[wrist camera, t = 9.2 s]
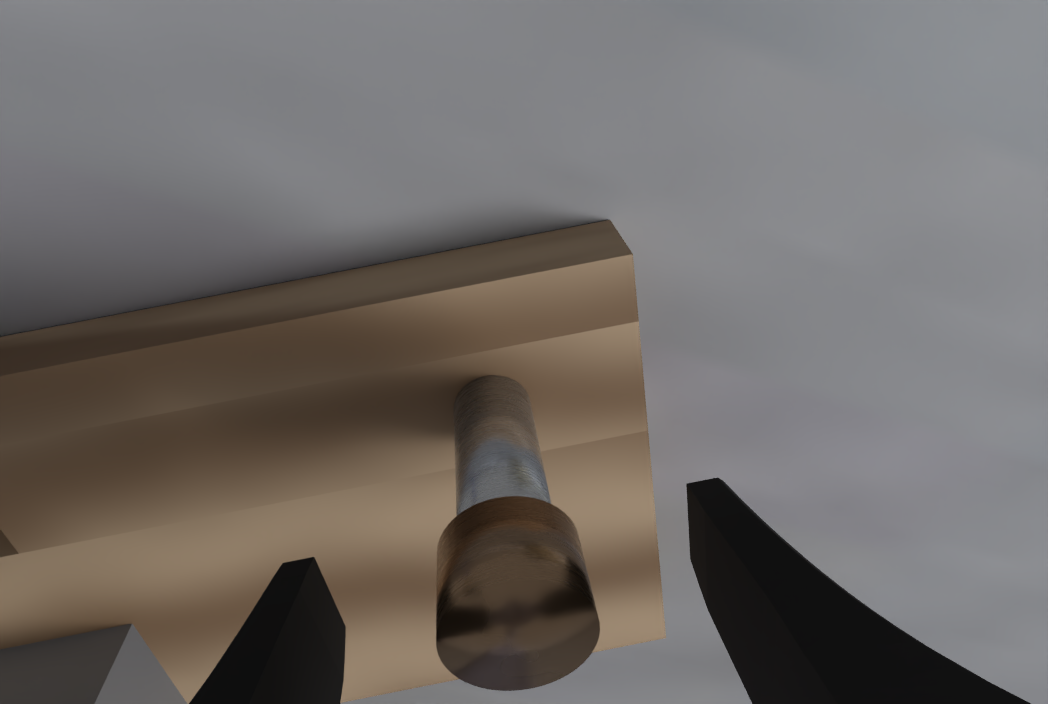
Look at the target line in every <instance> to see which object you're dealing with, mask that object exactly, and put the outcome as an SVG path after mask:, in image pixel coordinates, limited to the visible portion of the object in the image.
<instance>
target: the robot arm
mask: <svg viewBox="0 0 1048 704" xmlns="http://www.w3.org/2000/svg"><path fill="white" fill-rule="evenodd" d="M687 502H688V521H689V541H690V559H691V562H692V565H693V568H694V571H695V574H696V577H697V580H698V583H699V586H700V589H701V592H702V594H703V597H704V600H705V603H706V606H707V608H708V611H709V613H710V615H711V617H712V619H713V622H714V624H715V626H716V628H717V630H718V632H719V634H720V636H721V639H722V641H723V643H724V645H725V647H726V649H727V651H728V653H729V655H730V657H731V660H732V662H733V664H734V666H735V668H736V670H737V672H738V674H739V676H740V678H741V681H742V683H743V685H744V687H745V689H746V691H747V693H748V695H749V697H750V699H751V702H752V704H1030V703H1029V702H1027V701H1025V700H1023V699H1021V698H1019V697H1017V696H1015V695H1013V694H1011V693H1009V692H1007V691H1005V690H1003V689H1001V688H999V687H998V686H996V685H994V684H992V683H990V682H988V681H986V680H984V679H983V678H981V677H979V676H978V675H976V674H974V673H972V672H971V671H969V670H967V669H965V668H964V667H962V666H960V665H958V664H957V663H955V662H953V661H951V660H950V659H948V658H946V657H945V656H943V655H941V654H939V653H938V652H936V651H934V650H932V649H931V648H929V647H927V646H926V645H924V644H923V643H921V642H920V641H918V640H916V639H915V638H913V637H912V636H910V635H909V634H907V633H906V632H904V631H902V630H901V629H899V628H898V627H896V626H895V625H893V624H892V623H890V622H889V621H887V620H886V619H885V618H883V617H882V616H880V615H879V614H877V613H876V612H874V611H873V610H871V609H870V608H869V607H867V606H866V605H865V604H863V603H862V602H860V601H859V600H858V599H856V598H855V597H854V596H852V595H851V594H850V593H848V592H847V591H846V590H844V589H843V588H842V587H840V586H839V585H838V584H837V583H835V582H834V581H833V580H832V579H830V578H829V577H828V576H826V575H825V574H824V573H823V572H821V571H820V570H819V569H818V568H817V567H815V566H814V565H813V564H812V563H810V562H809V561H808V560H807V559H806V558H805V557H803V556H802V555H801V554H800V553H799V552H798V551H796V550H795V549H794V548H793V547H792V546H791V545H790V544H788V543H787V542H786V541H785V540H784V539H783V538H782V537H780V536H779V535H778V534H777V533H776V532H775V531H774V530H773V529H772V528H770V527H769V526H768V525H767V524H766V523H765V522H764V521H763V520H762V519H761V518H760V517H759V516H758V515H757V514H756V513H755V512H754V511H753V510H752V509H750V508H749V507H748V506H747V505H746V504H745V503H744V502H743V501H742V500H741V499H740V498H739V497H738V496H737V495H736V494H735V493H734V492H733V491H732V490H731V489H730V487H729V486H728V485H727V484H726V483H725V482H724V481H722V480H721V479H719V478H713V479H708V480H703V481H698V482H693V483H688V484H687ZM345 638H346V626H345V624H344V622H343V619H342V617H341V615H340V613H339V611H338V608H337V606H336V604H335V602H334V599H333V597H332V595H331V593H330V591H329V588H328V586H327V584H326V582H325V579H324V577H323V575H322V573H321V571H320V568H319V566H318V564H317V562H316V559H315V557H310V558H305V559H300V560H295V561H290V562H285V563H282V565H281V566H280V567H279V569H278V570H277V572H276V574H275V575H274V577H273V578H272V580H271V581H270V583H269V584H268V586H267V588H266V589H265V591H264V592H263V594H262V596H261V597H260V599H259V600H258V602H257V604H256V605H255V607H254V608H253V610H252V611H251V613H250V615H249V616H248V618H247V619H246V621H245V622H244V624H243V626H242V627H241V629H240V630H239V632H238V633H237V635H236V636H235V638H234V639H233V641H232V642H231V644H230V645H229V647H228V648H227V650H226V651H225V653H224V654H223V656H222V657H221V659H220V660H219V662H218V663H217V665H216V666H215V668H214V669H213V671H212V672H211V674H210V675H209V677H208V678H207V679H206V681H205V682H204V683H203V685H202V686H201V688H200V689H199V690H198V692H197V693H196V694H195V696H194V697H193V699H192V700H191V701H190V703H189V704H340V701H341V695H342V688H343V681H344V664H345Z"/></svg>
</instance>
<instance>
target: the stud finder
mask: <svg viewBox="0 0 1048 704" xmlns="http://www.w3.org/2000/svg"><path fill="white" fill-rule="evenodd" d="M0 704H187V702H186V701H185V700H184V698H183V697H182V695H181V694H180V692H179V691H178V689H177V688H176V686H175V685H174V683H173V682H172V681H171V679H170V678H169V676H168V675H167V673H166V672H165V670H164V669H163V667H162V666H161V664H160V663H159V662H158V660H157V659H156V657H155V656H154V654H153V653H152V651H151V650H150V648H149V647H148V646H147V644H146V643H145V641H144V640H143V638H142V637H141V635H140V634H139V632H138V631H137V629H136V628H135V627H134V625H133V624H127V625H122V626H117V627H112V628H107V629H101V630H96V631H91V632H86V633H81V634H76V635H71V636H66V637H61V638H56V639H51V640H46V641H41V642H36V643H31V644H25V645H20V646H15V647H10V648H5V649H0Z"/></svg>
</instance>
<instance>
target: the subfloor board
mask: <svg viewBox="0 0 1048 704" xmlns="http://www.w3.org/2000/svg"><path fill="white" fill-rule="evenodd" d="M487 375H501V376H506V377H509V378H511V379H513V380H515V381H517V382H518V383H519V384H521V385H522V386H523V387H524V389H525V390H526V391H527V393H528V395H529V398H530V402H531V407H532V412H533V417H534V422H535V427H536V432H537V436H538V441H539V446H540V451H541V456H542V461H543V466H544V471H545V475H546V480H547V485H548V490H549V495H550V500H551V504H552V505H554V506H556V507H558V508H559V509H561V510H562V511H563V512H564V513H566V514H567V516H568V517H569V518H570V519H571V520H572V522H573V523H574V525H575V527H576V529H577V531H578V535H579V539H580V543H581V547H582V551H583V556H584V560H585V564H586V568H587V572H588V576H589V580H590V585H591V589H592V593H593V597H594V601H595V605H596V609H597V614H598V618H599V622H600V634H599V639H598V642H597V644H596V646H595V648H594V650H593V652H598V651H603V650H608V649H613V648H618V647H623V646H628V645H633V644H638V643H643V642H648V641H653V640H658V639H663V638H666V633H665V622H664V610H663V598H662V587H661V575H660V564H659V552H658V540H657V529H656V517H655V506H654V494H653V483H652V471H651V459H650V448H649V436H648V425H647V413H646V402H645V390H644V378H643V367H642V355H641V344H640V332H639V320H638V309H637V297H636V286H635V274H634V263H633V254H632V252H631V251H630V249H629V248H628V246H627V245H626V243H625V242H624V240H623V239H622V237H621V236H620V234H619V233H618V231H617V230H616V228H615V227H614V225H613V224H612V222H611V221H610V220H607V221H601V222H596V223H591V224H586V225H581V226H575V227H570V228H565V229H560V230H555V231H549V232H544V233H539V234H534V235H529V236H523V237H518V238H513V239H508V240H503V241H497V242H492V243H487V244H482V245H477V246H471V247H466V248H461V249H456V250H451V251H445V252H440V253H435V254H430V255H424V256H419V257H414V258H409V259H404V260H398V261H393V262H388V263H383V264H378V265H372V266H367V267H362V268H357V269H352V270H346V271H341V272H336V273H331V274H326V275H320V276H315V277H310V278H305V279H300V280H294V281H289V282H284V283H279V284H274V285H268V286H263V287H258V288H253V289H248V290H242V291H237V292H232V293H227V294H222V295H216V296H211V297H206V298H201V299H195V300H190V301H185V302H180V303H175V304H169V305H164V306H159V307H154V308H149V309H143V310H138V311H133V312H128V313H123V314H117V315H112V316H107V317H102V318H97V319H91V320H86V321H81V322H76V323H71V324H65V325H60V326H55V327H50V328H45V329H39V330H34V331H29V332H24V333H19V334H13V335H8V336H3V337H0V649H5V648H10V647H15V646H20V645H25V644H31V643H36V642H41V641H46V640H51V639H56V638H61V637H66V636H71V635H76V634H81V633H86V632H91V631H96V630H101V629H107V628H112V627H117V626H122V625H127V624H133V625H134V627H135V628H136V629H137V631H138V632H139V634H140V635H141V637H142V638H143V640H144V641H145V643H146V644H147V646H148V647H149V648H150V650H151V651H152V653H153V654H154V656H155V657H156V659H157V660H158V662H159V663H160V664H161V666H162V667H163V669H164V670H165V672H166V673H167V675H168V676H169V678H170V679H171V681H172V682H173V683H174V685H175V686H176V688H177V689H178V691H179V692H180V694H181V695H182V697H183V698H184V700H185V701H186V702H187V704H189V703H190V701H191V700H192V699H193V697H194V696H195V694H196V693H197V692H198V690H199V689H200V688H201V686H202V685H203V683H204V682H205V681H206V679H207V678H208V677H209V675H210V674H211V672H212V671H213V669H214V668H215V666H216V665H217V663H218V662H219V660H220V659H221V657H222V656H223V654H224V653H225V651H226V650H227V648H228V647H229V645H230V644H231V642H232V641H233V639H234V638H235V636H236V635H237V633H238V632H239V630H240V629H241V627H242V626H243V624H244V622H245V621H246V619H247V618H248V616H249V615H250V613H251V611H252V610H253V608H254V607H255V605H256V604H257V602H258V600H259V599H260V597H261V596H262V594H263V592H264V591H265V589H266V588H267V586H268V584H269V583H270V581H271V580H272V578H273V577H274V575H275V574H276V572H277V570H278V569H279V567H280V566H281V565H282V563H285V562H290V561H295V560H300V559H305V558H310V557H315V559H316V562H317V564H318V566H319V568H320V571H321V573H322V575H323V577H324V579H325V582H326V584H327V586H328V588H329V591H330V593H331V595H332V597H333V599H334V602H335V604H336V606H337V608H338V611H339V613H340V615H341V617H342V619H343V622H344V624H345V626H346V638H345V664H344V681H343V688H342V695H341V701H340V703H342V702H347V701H352V700H357V699H362V698H367V697H372V696H377V695H382V694H387V693H392V692H397V691H402V690H407V689H412V688H417V687H422V686H427V685H432V684H437V683H442V682H447V681H452V680H457V679H459V678H457V677H456V676H455V675H453V674H452V673H451V672H450V671H449V670H448V669H447V668H446V667H445V666H444V665H443V663H442V662H441V660H440V658H439V656H438V652H437V648H436V581H437V546H438V542H439V539H440V537H441V535H442V533H443V531H444V529H445V528H446V527H447V525H448V524H449V523H450V522H451V521H452V520H453V519H454V518H455V517H456V516H457V515H456V479H455V444H454V402H455V398H456V396H457V394H458V393H459V391H460V390H461V389H462V388H463V387H464V386H465V385H466V384H467V383H469V382H470V381H472V380H474V379H476V378H479V377H482V376H487ZM593 652H592V653H593Z"/></svg>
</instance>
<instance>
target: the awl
mask: <svg viewBox="0 0 1048 704" xmlns="http://www.w3.org/2000/svg"><path fill="white" fill-rule="evenodd" d="M454 444H455V479H456V515H457V516H456V517H455V518H454V519H453V520H452V521H451V522H450V523H449V524H448V525H447V527H446V528H445V529H444V531H443V533H442V535H441V537H440V539H439V542H438V546H437V581H436V648H437V652H438V656H439V658H440V660H441V662H442V663H443V665H444V666H445V667H446V668H447V669H448V670H449V671H450V672H451V673H452V674H453V675H455V676H456V677H457V678H459V679H461V680H463V681H464V682H467V683H469V684H472V685H474V686H478V687H481V688H486V689H491V690H503V691H512V690H523V689H530V688H535V687H539V686H542V685H545V684H548V683H551V682H554V681H556V680H558V679H560V678H562V677H564V676H566V675H568V674H569V673H571V672H572V671H574V670H575V669H577V668H578V667H579V666H580V665H581V664H583V663H584V661H585V660H586V659H587V658H588V657H589V656H590V654H591V653H592V652H593V650H594V648H595V646H596V644H597V642H598V639H599V634H600V622H599V618H598V614H597V609H596V605H595V601H594V597H593V593H592V589H591V585H590V580H589V576H588V572H587V568H586V564H585V560H584V556H583V551H582V547H581V543H580V539H579V535H578V531H577V529H576V527H575V525H574V523H573V522H572V520H571V519H570V518H569V517H568V516H567V514H566V513H564V512H563V511H562V510H561V509H559V508H558V507H556V506H554V505H552V504H551V500H550V495H549V490H548V485H547V480H546V475H545V471H544V466H543V461H542V456H541V451H540V446H539V441H538V436H537V432H536V427H535V422H534V417H533V412H532V407H531V402H530V398H529V395H528V393H527V391H526V390H525V389H524V387H523V386H522V385H521V384H519V383H518V382H517V381H515V380H513V379H511V378H509V377H506V376H501V375H487V376H482V377H479V378H476V379H474V380H472V381H470V382H469V383H467V384H466V385H465V386H464V387H463V388H462V389H461V390H460V391H459V393H458V394H457V396H456V398H455V402H454Z"/></svg>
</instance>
